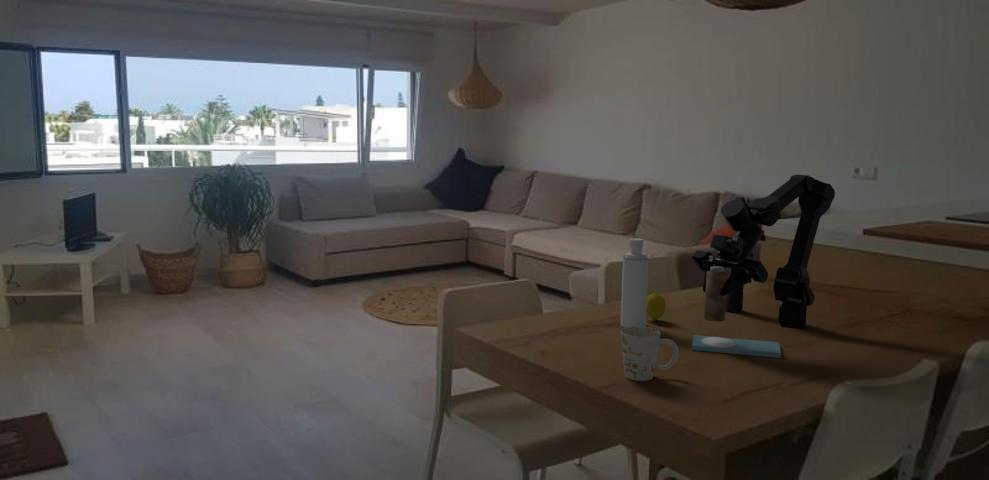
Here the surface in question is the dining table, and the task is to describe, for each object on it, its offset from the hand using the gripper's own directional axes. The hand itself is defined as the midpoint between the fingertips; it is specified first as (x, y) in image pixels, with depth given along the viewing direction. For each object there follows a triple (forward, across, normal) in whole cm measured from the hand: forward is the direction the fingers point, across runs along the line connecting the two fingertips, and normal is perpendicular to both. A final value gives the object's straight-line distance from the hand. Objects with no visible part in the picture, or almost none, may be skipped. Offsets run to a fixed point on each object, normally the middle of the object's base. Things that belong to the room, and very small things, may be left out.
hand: (712, 293), depth 181 cm
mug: (+30, +6, -11) cm, 32 cm away
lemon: (+4, -24, +15) cm, 29 cm away
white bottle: (+10, -24, +9) cm, 28 cm away
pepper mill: (+4, 0, +6) cm, 7 cm away
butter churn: (-14, -19, +34) cm, 41 cm away
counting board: (+7, +4, +12) cm, 15 cm away
